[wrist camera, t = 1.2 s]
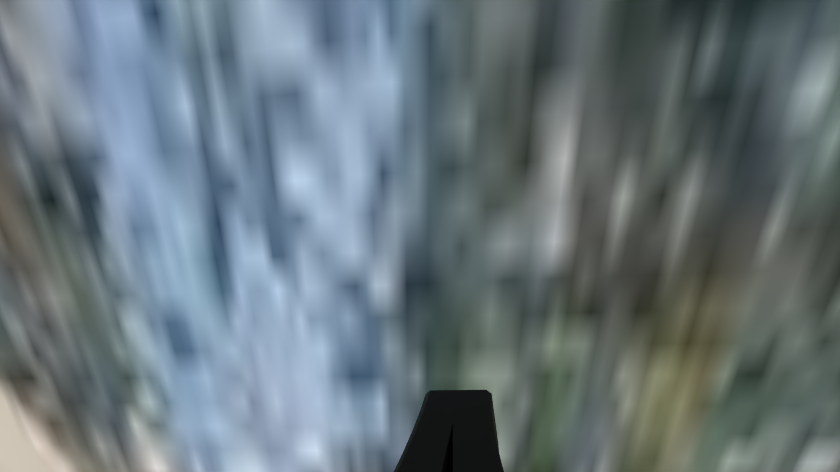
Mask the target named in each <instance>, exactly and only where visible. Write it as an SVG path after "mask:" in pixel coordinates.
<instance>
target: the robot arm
mask: <svg viewBox="0 0 840 472" xmlns="http://www.w3.org/2000/svg"><path fill="white" fill-rule="evenodd" d="M394 472H504V471H503V467H502V463H501V459H500V455H499V448H498V439H497V431H496V424H495V416H494V409H493V401H492V394H491V393H490V392H488V391H487V390H438V391H429V392H428V393H427V394H426V395H425V398H424V402H423V405H422V408H421V410H420V413H419V416H418V418H417V421H416V423H415V426H414V428H413V431H412V433H411V436H410V438H409V440H408V443H407V445H406V447H405V449H404V452H403V454H402V456H401V458H400V460H399V462H398V464H397V466H396V469H395V471H394Z"/></svg>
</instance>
